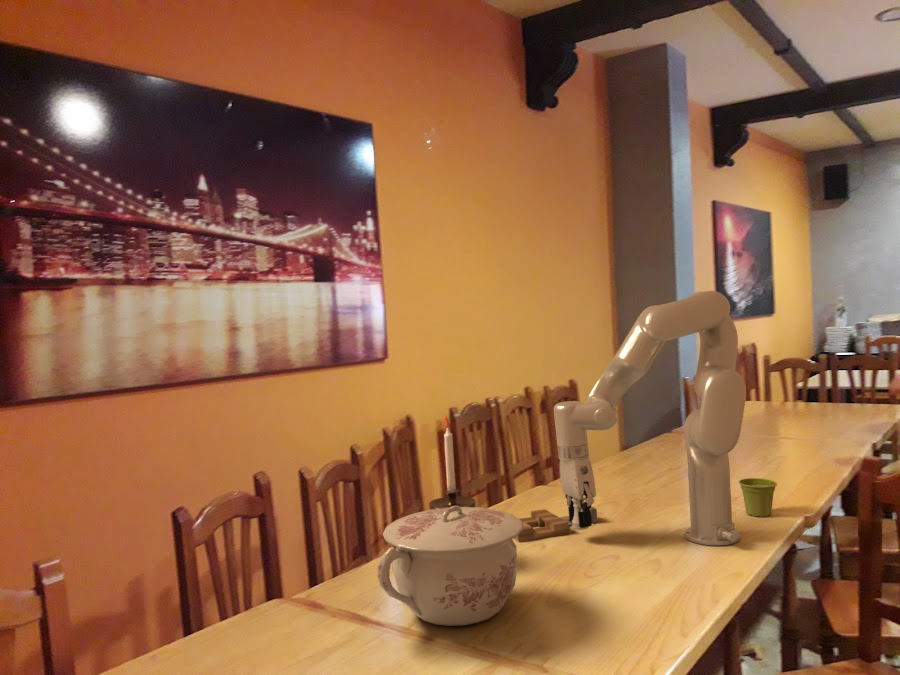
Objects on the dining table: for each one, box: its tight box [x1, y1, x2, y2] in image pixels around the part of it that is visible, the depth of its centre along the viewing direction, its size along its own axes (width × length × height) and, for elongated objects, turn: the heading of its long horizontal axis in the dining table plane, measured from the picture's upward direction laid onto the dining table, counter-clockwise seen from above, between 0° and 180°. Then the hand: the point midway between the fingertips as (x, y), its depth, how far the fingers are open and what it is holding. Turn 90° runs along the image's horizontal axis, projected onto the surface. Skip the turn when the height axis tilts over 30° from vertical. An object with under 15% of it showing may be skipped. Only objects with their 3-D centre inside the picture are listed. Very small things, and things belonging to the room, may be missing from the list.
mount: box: [511, 508, 570, 543], centre depth 182 cm, size 14×14×3 cm
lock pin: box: [559, 506, 598, 526], centre depth 186 cm, size 5×11×4 cm, turn 108°
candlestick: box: [428, 414, 477, 510], centre depth 161 cm, size 11×11×35 cm
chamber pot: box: [377, 506, 523, 627], centre depth 135 cm, size 28×28×21 cm
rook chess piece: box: [571, 496, 590, 531], centre depth 171 cm, size 4×4×8 cm
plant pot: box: [738, 477, 778, 518], centre depth 185 cm, size 9×9×9 cm
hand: (580, 523), depth 171 cm, fingers closed on rook chess piece, 4 cm apart
